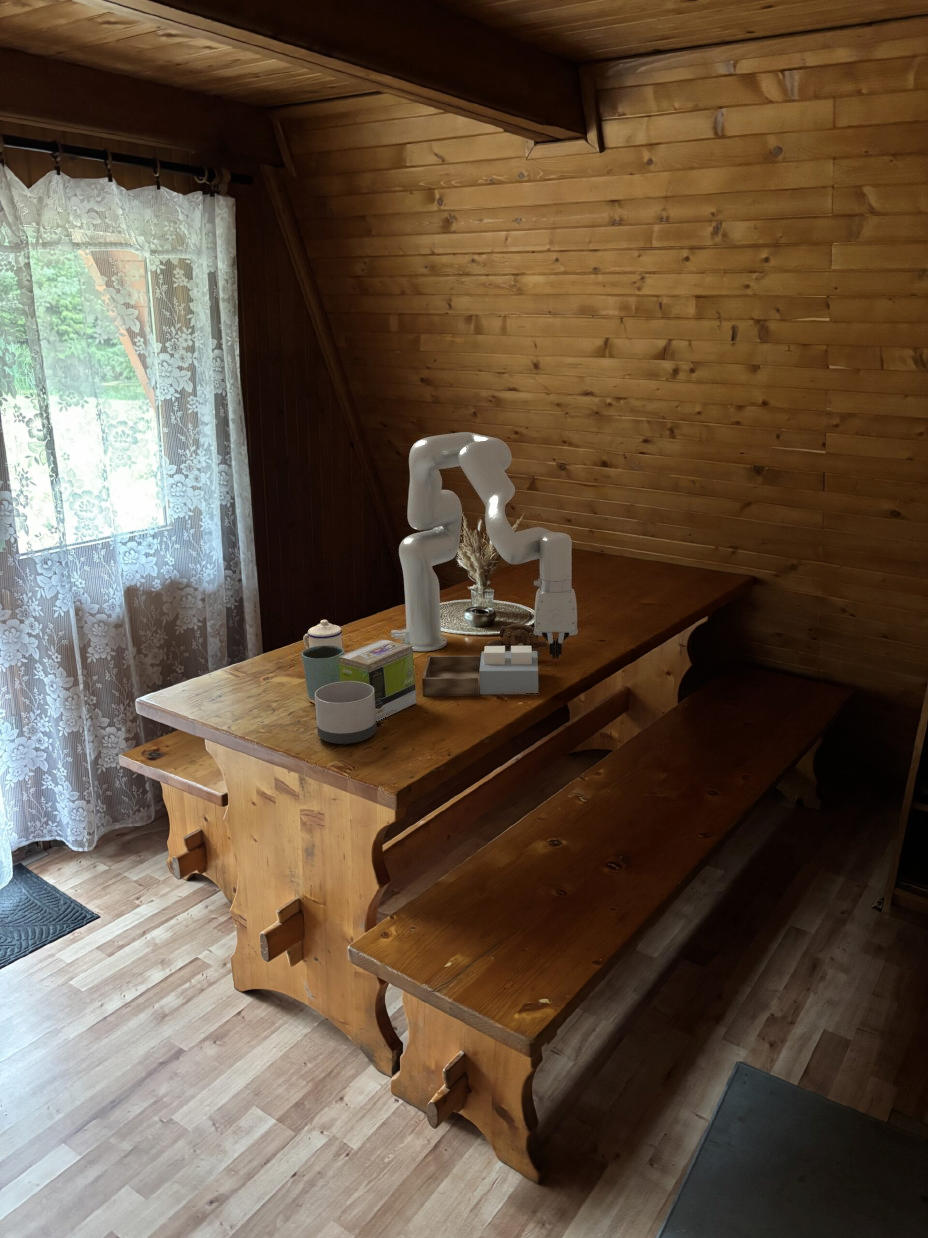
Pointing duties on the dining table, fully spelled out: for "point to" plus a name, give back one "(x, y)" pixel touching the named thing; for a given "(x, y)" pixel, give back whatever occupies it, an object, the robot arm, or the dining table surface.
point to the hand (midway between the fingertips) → (555, 657)
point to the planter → (345, 712)
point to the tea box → (383, 674)
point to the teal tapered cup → (321, 667)
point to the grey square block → (509, 676)
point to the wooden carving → (518, 638)
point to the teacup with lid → (323, 635)
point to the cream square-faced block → (494, 655)
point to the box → (451, 676)
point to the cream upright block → (521, 655)
